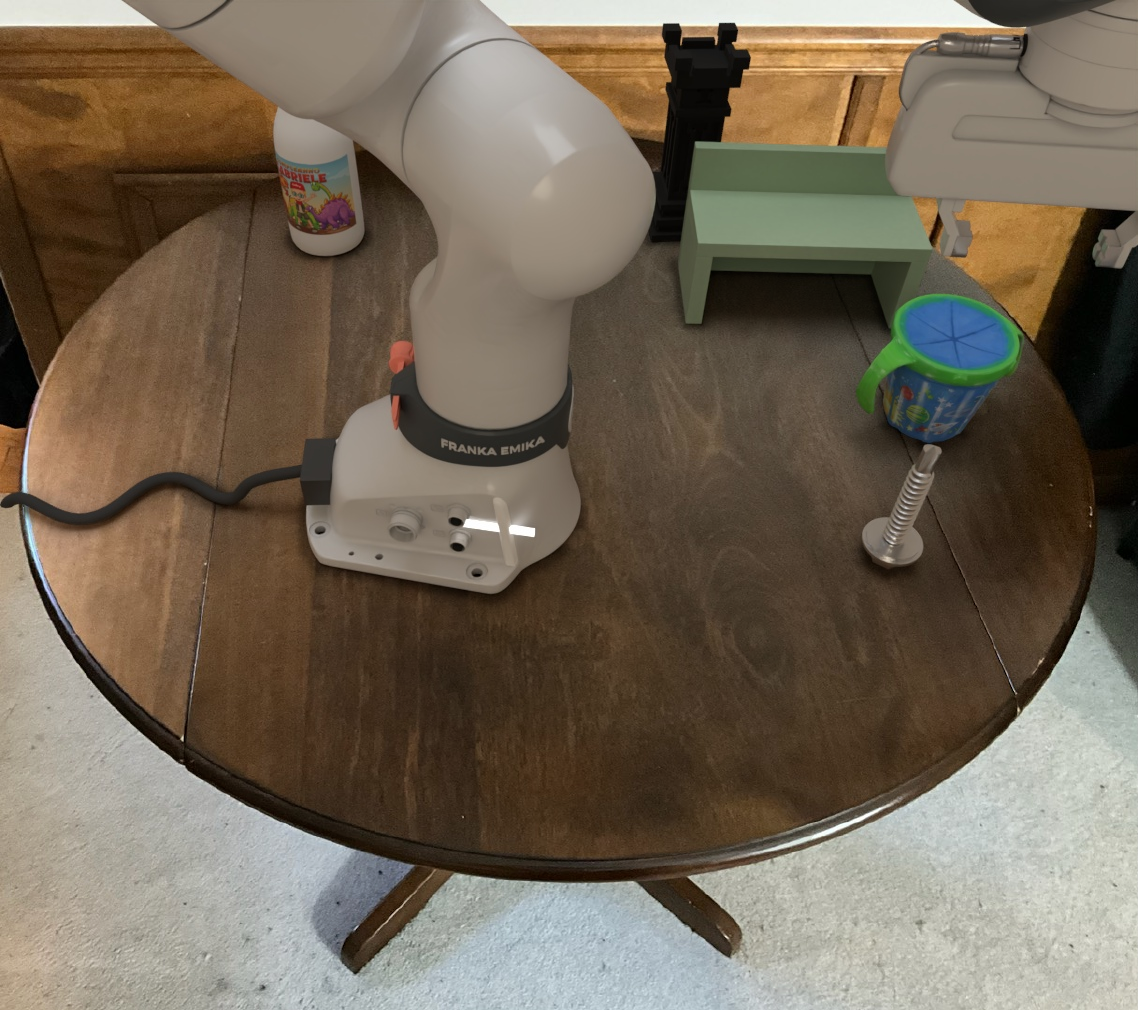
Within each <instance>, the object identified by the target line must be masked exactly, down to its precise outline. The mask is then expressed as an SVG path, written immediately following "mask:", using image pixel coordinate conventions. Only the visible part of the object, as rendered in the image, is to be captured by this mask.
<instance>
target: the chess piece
mask: <svg viewBox="0 0 1138 1010" xmlns="http://www.w3.org/2000/svg"><path fill="white" fill-rule="evenodd" d="M717 27H718V28H717V33H716V36H717V41H716V38H715V36H682V33H683V29H682V27H681V25H680V23H679V22H678V23H677V22H669V23H668V22H663V23H662V27H661V28H662V29H661V31H662V32H661V37H662V41H663V43H664V44H665V47H664V55H663V58H664V61H665V63H666V64H665V65H666V66H667V69H668V72H669V75H670V77H671V79H670V81H666V82H665V87H664V89H665V94H666V96H667V99H668V104H667V112H666V120H665V129H664V138H663V146H662V155H661V163H660V171H652V173H653V177H654V181H655V188H656V199H655V207H654V212H653V217H652V220H651V224H650V227H649V230H648V232H647V233H648V235H649V239H650V242H651V243H654V242H655V243H659V242H681V236H682V229H683V222H684V215H685V208H686V201H687V194H688V187H689V180H690V173H691V166H692V159H693V152H694V145H695V142H722V139H723V134H724V133H723V132H724V127H725V121H726V118H731V116H732V106H731V104H730V102H729V96H730V91H731V90H730V89H741V86H742V81H743V75H744V71H749V70H750V67H751V60H752V56H751V55H750V52H749V49H747V48H746V49H744V48H743V49H740V48H739V49H736V47H735V45H734V44H733V43H737V41H738V34H739V29H738V26H737V25H736V22H718V26H717Z"/></svg>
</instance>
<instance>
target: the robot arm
mask: <svg viewBox="0 0 1138 1010" xmlns="http://www.w3.org/2000/svg"><path fill="white" fill-rule="evenodd" d="M121 1H122V2H123V3H125V5H127V6H128V7H130V8H132V9H133V10H135V11H136V12H137V13H139V14H140V15H141V16H143V17H145V18H146V19H147V20H148V21H150V22H151V23H153V24H155V26H158V27H159V28H160V29H162V30H163V31H165V32H167V33H168V34H169V35H171V36H172V37H174V38H175V39H177V40H178V41H180V42H181V43H183V44H184V45H186V46H187V47H189V48H190V49H192V50H193V51H195V52H196V53H198V54H199V55H201V56H202V57H204V59H207V60H208V61H209V62H211V63H212V64H214V65H216V66H217V67H218V68H220V69H222V70H223V71H225V72H226V73H228V74H229V75H230V76H231V77H233V78H235V79H236V80H238V81H239V82H241V83H242V84H244V85H245V86H247V87H248V88H250V89H251V90H253V91H254V92H255V93H257V94H259V95H260V96H261V97H263V98H264V99H266V100H268V101H269V102H271V103H272V104H273V105H274V106H276V107H277V108H278V107H279V108H281V109H282V110H284V111H285V112H287V113H288V114H290V115H292V116H295V117H298V118H302V119H313V120H315V121H317V122H320V123H322V124H324V125H326V126H328V127H330V128H332V129H334V130H336V131H338V132H339V133H341V134H343V135H345V136H347V137H348V138H350V139H352V140H353V142H355V143H356V144H358V145H359V146H361V147H362V148H363V149H365V150H367V151H368V152H369V153H370V154H372V155H373V156H374V157H376V159H378V160H379V161H380V162H381V163H382V164H383V165H385V167H386V168H388V169H389V170H390V171H391V173H393V174H394V175H395V176H396V177H397V178H398V179H399V180H400V181H401V182H402V183H403V184H404V185H405V186H406V187H407V188H409V189H410V191H412V193H413V194H414V196H416V197H417V198H418V199H419V200H420V201H421V203H422V205H423V207H424V209H425V211H426V213H427V215H428V217H429V219H430V222H431V225H432V226H433V229H434V233H435V236H436V241H437V242H436V243H437V256H436V257H434V258H433V259H432V260H430V261H429V262H428V263H427V264H426V265H425V266H424V267H423V268H422V269H421V270H420V271H419V273H418V274H417V275H416V276H415V278H414V280H413V282H412V285H411V287H410V291H409V295H408V296H409V298H408V305H409V316H410V318H409V319H410V328H411V336H412V337H411V339H412V342H410V341H408V340H407V341H406V340H397V341H395V342H394V343H393V344H392V345H391V347H390V353H389V354H390V359H389V360H388V367H389V369H390V371H391V372H392V373H394V375H393V376H392V378H391V381H390V387H389V394H387V395H385V396H383V397H381V398H379V399H375V400H374V401H371V402H369V403H367V404H365V405H362V406H360V407H359V408H357V409H356V410H355V411H354V412H353V413H352V414H351V415H350V416H349V418H348V419H347V421H346V422H345V424H344V426H343V427H342V429H341V432H340V434H339V437H337V439H336V437H329V438H328V437H326V438H324V437H322V438H321V437H320V438H319V437H318V438H316V437H315V438H305V441H304V448H303V454H302V461H301V464H296V465H291V466H284V467H279V468H274V469H269V470H264V471H261V472H257V473H255V474H254V473H253V474H252V475H250V476H248V477H246V478H245V479H243V480H242V481H241V482H240V483H239V484H238V485H237V487H236V488H235V489H234V490H233V491H230V492H223V491H220V490H217V489H216V488H214V487H212V486H211V485H210V484H208V483H206V482H204V481H203V480H201V479H199V478H197V477H196V476H193V475H191V474H188V473H185V472H178V471H168V472H167V471H165V472H160V473H156V474H153V475H150V476H148V477H145V478H143V479H142V480H140V481H139V482H137V483H135V484H134V485H132V486H131V487H130V488H128V490H126V491H124V493H122V494H121V495H120V496H118V497H117V498H116V499H114V500H113V501H112V502H110V503H108V504H107V505H104V506H102V507H101V508H98V509H96V510H93V511H89V512H79V513H78V512H72V511H67V510H64V509H61V508H59V507H57V506H54V505H53V504H50V503H49V502H47V501H45V500H43V499H41V498H39V497H37V496H35V495H33V494H31V493H26V492H23V491H14V492H11V493H9V494H8V495H5V496H4V497H3V498H2V499H1V501H0V507H1V508H2V509H11V508H13V507H15V506H16V505H23V506H25V507H27V508H29V509H31V510H33V511H35V512H37V513H39V514H41V515H42V516H44V517H47V518H49V519H51V520H53V521H55V522H58V523H62V524H66V525H72V526H87V525H93V524H97V523H100V522H103V521H106V520H107V519H109V518H111V517H114V516H115V515H117V514H118V513H120V512H122V511H123V510H124V509H126V508H127V507H128V506H129V505H131V504H132V503H133V502H134V501H136V500H137V499H138V498H140V496H142V495H143V494H145V493H147V492H148V491H150V490H152V489H154V488H156V487H159V486H162V485H169V484H176V485H182V486H184V487H187V488H188V489H191V490H193V491H194V492H196V493H197V494H199V495H201V496H202V497H204V498H205V499H207V500H209V501H211V502H214V503H217V504H219V505H224V506H225V505H226V506H227V505H236V504H239V503H240V502H241V501H243V500H244V499H245V498H246V497H247V496H248V494H249V493H250V492H251V491H252V490H253V489H255V488H258V487H260V486H264V485H266V484H270V483H276V482H281V481H288V480H293V479H299V484H300V488H301V492H302V497H303V501H304V505H305V506H306V507H305V508H306V510H305V524H306V533H307V534H306V536H307V540H308V544H309V546H310V549H311V552H312V553H313V555H314V557H315V558H316V560H317V561H318V562H319V563H320V564H322V565H325V566H329V567H333V568H334V567H335V568H339V569H344V570H350V571H356V572H361V573H362V572H363V573H366V574H373V575H379V576H384V577H390V578H397V579H402V580H408V581H413V582H418V583H423V584H430V585H435V586H442V587H447V588H451V589H459V590H465V591H470V592H474V593H475V592H476V593H482V594H489V595H494V594H498V593H500V592H502V591H503V590H505V589H506V588H508V586H510V584H511V583H512V582H513V581H514V580H515V579H516V577H517V576H518V575H519V574H520V573H521V571H523V570H524V569H526V568H528V567H529V566H530V565H532V564H535V563H537V562H539V561H540V560H543V559H545V558H546V557H548V556H549V555H551V554H552V553H554V552H555V551H557V549H559V548H560V547H561V546H562V545H563V544H564V543H565V542H566V541H567V540H568V539H569V537H570V536H571V535H572V533H573V532H574V530H575V528H576V526H577V524H578V521H579V519H580V514H581V506H582V501H581V500H582V498H581V493H580V488H579V486H578V483H577V480H576V478H575V476H574V473H573V468H572V464H571V459H570V449H569V444H568V443H569V440H570V436H571V432H572V429H573V419H574V402H575V387H574V383H573V373H572V369H571V366H570V364H569V354H570V353H569V352H570V341H571V328H572V327H571V326H572V317H573V316H572V315H573V310H574V305H575V302H576V301H575V300H576V299H577V298H578V297H581V296H584V295H587V294H589V293H591V292H594V291H596V290H598V289H599V288H601V287H603V286H605V285H606V284H607V283H609V282H610V281H612V280H613V279H615V277H616V276H618V275H619V274H620V273H621V272H622V271H623V270H624V269H626V267H627V266H628V265H629V264H630V263H631V261H632V260H633V259H634V257H635V256H636V254H638V252H639V250H640V249H641V246H642V245H643V243H644V241H645V239H646V237H647V235H648V233H649V232H648V230H649V227H650V224H651V220H652V217H653V212H654V207H655V199H656V188H655V181H654V177H653V173H652V172H653V171H652V169H651V167H650V164H649V162H648V161H647V159H646V158H645V156H643V153H642V152H641V151H640V149H639V148H638V146H637V145H636V143H635V141H634V140H633V139H632V137H631V136H630V135H629V133H628V132H627V130H626V129H625V127H624V126H623V125H622V123H621V122H620V121H619V120H618V118H617V117H616V115H615V114H614V112H613V111H612V110H611V109H610V108H609V107H608V106H607V105H606V104H605V102H603V101H602V100H601V99H599V98H598V96H597V95H595V94H593V92H591V91H590V90H588V89H587V88H586V87H585V86H584V85H582V83H580V82H578V80H576V79H575V78H574V77H572V76H571V75H570V74H568V72H566V71H565V70H564V69H562V68H561V67H560V66H559V65H558V64H556V63H555V62H554V61H553V60H551V59H550V58H549V57H548V56H546V55H545V54H544V53H543V52H541V51H540V50H539V49H538V48H537V47H535V46H534V45H533V44H531V43H530V42H529V40H527V39H525V38H524V37H523V36H522V35H521V34H519V32H517V31H516V30H515V29H514V28H512V27H511V26H510V25H508V24H507V22H505V21H504V20H502V18H500V17H499V16H498V14H496V13H494V12H493V11H492V10H491V9H490V8H489V7H488V6H487V5H486V4H485V3H484V2H483V1H482V0H121ZM953 1H954V2H955V3H957V4H959V6H961V7H963V8H964V9H966V10H967V11H968V12H970V13H971V14H973V15H975V16H977V17H978V18H980V19H982V20H986V21H987V22H989V23H991V24H994V25H996V26H999V27H1004V28H1014V29H1015V28H1016V29H1020V28H1021V29H1022V28H1025V30H1024V33H1023V35H1022V34H1021V35H1020V34H1000V33H999V34H998V33H993V34H992V33H991V34H966V33H965V32H959V31H958V32H957V31H950V32H942V33H940V34H939V35H938V37H937V38H936V39H932V40H929V41H925V42H923V43H922V44H920V45H919V46H917V47H915V49H914V50H912V51H911V52H910V54H909V55H908V57H907V58H906V60H905V62H904V65H903V68H902V72H901V77H900V81H899V86H898V99H899V101H900V103H901V106H900V108H899V110H898V112H897V115H896V118H895V120H894V123H893V126H892V129H891V132H890V135H889V138H888V142H887V146H886V147H887V149H886V153H885V170H886V177H887V180H888V182H889V184H890V185H891V187H892V188H893V190H894V191H895V192H896V194H898V195H900V196H906V197H912V198H924V199H936V205H937V210H938V214H939V217H940V219H941V222H942V225H943V229H942V233H941V235H940V239H939V240H940V241H939V249H940V256H941V257H947V258H960V259H961V258H964V259H965V258H967V256H968V253H969V250H968V248H970V247H971V245H972V241H973V239H974V238H973V237H974V236H973V230H971V228H972V225H971V221H970V220H966V219H965V220H964V219H958V218H957V216H956V215H957V214H960V213H962V212H963V211H964V207H965V204H966V202H967V201H970V202H971V201H972V202H989V203H1004V204H1021V205H1032V206H1033V205H1035V206H1036V205H1037V206H1050V207H1051V206H1052V207H1064V208H1065V207H1066V208H1080V209H1081V208H1083V209H1100V210H1115V211H1131V212H1133V213H1132V214H1131V215H1130V216H1128V218H1127V219H1125V220H1124V221H1122V223H1121V224H1119V225H1118V226H1117V227H1116V228H1115V229H1101V230H1100V232H1099V235H1098V237H1097V240H1098V241H1097V242H1096V243H1095V244H1094V246H1093V249H1092V259H1093V260H1094V261H1095V262H1094V266H1095V267H1097V268H1098V267H1099V268H1111V269H1122V268H1124V265H1125V263H1126V262H1127V259H1128V257H1129V255H1130V253H1131V252H1132V249H1133V248H1136V247H1137V246H1138V0H953ZM931 49H932V50H931ZM933 49H935V50H933ZM319 533H320V534H319ZM474 575H480V576H474Z"/></svg>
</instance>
